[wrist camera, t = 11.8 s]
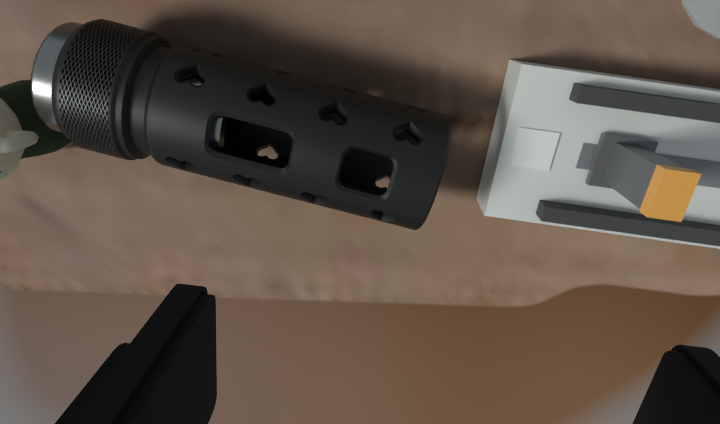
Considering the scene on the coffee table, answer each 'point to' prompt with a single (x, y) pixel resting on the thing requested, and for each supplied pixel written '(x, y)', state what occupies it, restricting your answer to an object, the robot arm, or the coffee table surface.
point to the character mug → (23, 128)
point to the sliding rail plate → (627, 220)
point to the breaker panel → (587, 144)
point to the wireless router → (704, 15)
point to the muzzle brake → (239, 121)
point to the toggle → (642, 176)
